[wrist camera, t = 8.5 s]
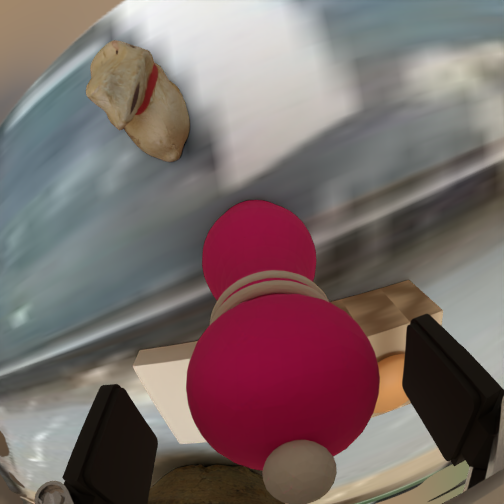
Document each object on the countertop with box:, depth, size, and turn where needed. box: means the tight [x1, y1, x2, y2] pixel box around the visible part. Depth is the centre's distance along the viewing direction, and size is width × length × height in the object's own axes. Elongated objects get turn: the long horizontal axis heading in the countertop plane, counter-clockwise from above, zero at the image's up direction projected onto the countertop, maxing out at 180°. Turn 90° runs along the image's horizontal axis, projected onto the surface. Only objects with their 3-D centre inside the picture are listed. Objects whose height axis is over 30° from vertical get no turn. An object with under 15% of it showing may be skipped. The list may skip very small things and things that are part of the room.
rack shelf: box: [133, 341, 207, 444], centre depth 28 cm, size 12×12×2 cm
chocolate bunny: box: [86, 40, 190, 162], centre depth 16 cm, size 6×8×10 cm
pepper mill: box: [186, 200, 380, 504], centre depth 14 cm, size 7×7×20 cm
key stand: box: [330, 280, 443, 418], centre depth 25 cm, size 10×10×6 cm
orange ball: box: [374, 354, 409, 413], centre depth 24 cm, size 6×6×7 cm
